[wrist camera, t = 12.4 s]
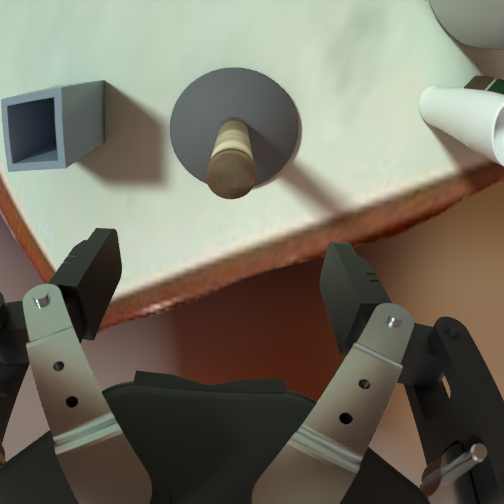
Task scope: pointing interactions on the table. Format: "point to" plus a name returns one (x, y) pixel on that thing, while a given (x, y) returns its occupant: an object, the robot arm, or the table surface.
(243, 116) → the gray disc
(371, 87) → the table surface
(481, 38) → the cylinder vase
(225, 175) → the beech dowel
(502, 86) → the beer bottle
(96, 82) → the deep cup
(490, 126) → the drinking glass
